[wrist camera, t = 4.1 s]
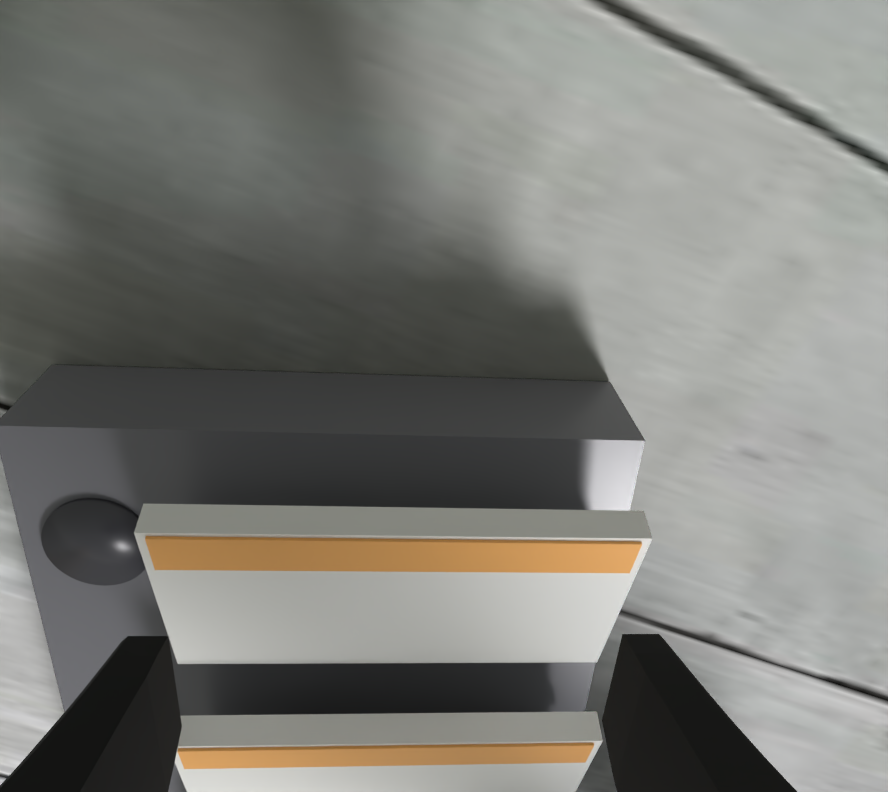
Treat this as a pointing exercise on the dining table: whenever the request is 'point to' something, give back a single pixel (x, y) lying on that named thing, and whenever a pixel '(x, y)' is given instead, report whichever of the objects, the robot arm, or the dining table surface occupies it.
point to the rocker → (388, 582)
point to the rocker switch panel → (293, 484)
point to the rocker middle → (388, 752)
